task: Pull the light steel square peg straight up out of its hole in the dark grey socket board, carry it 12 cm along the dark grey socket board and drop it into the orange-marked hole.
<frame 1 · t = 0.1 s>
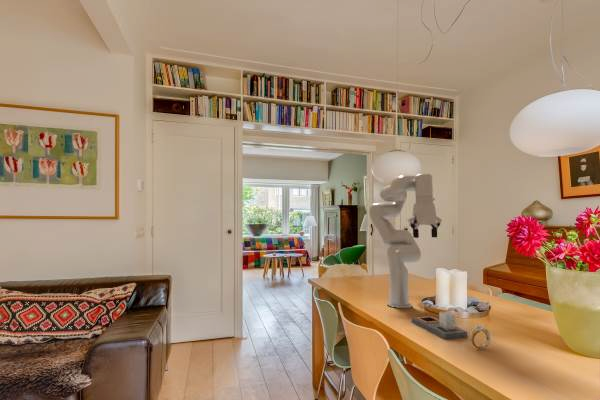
hand: (425, 237, 154), 37 cm above the table, tool pointing down, fingers open, 9 cm apart
dark grey socket board: (437, 329, 137), on the table
peg: (447, 334, 132), resting in dark grey socket board
bracelet: (480, 349, 116), on the table
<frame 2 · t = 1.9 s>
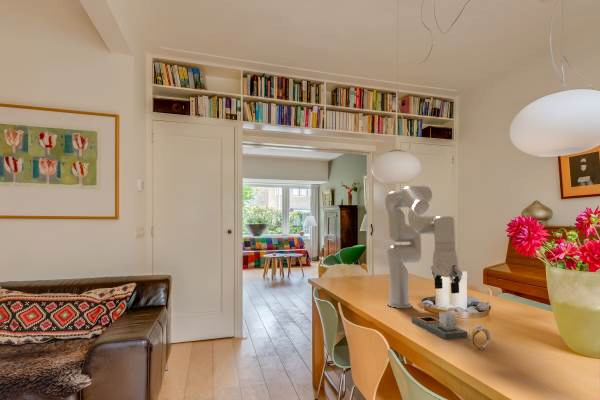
hand: (446, 290, 132), 17 cm above the table, tool pointing down, fingers open, 9 cm apart
nothing on the table moved.
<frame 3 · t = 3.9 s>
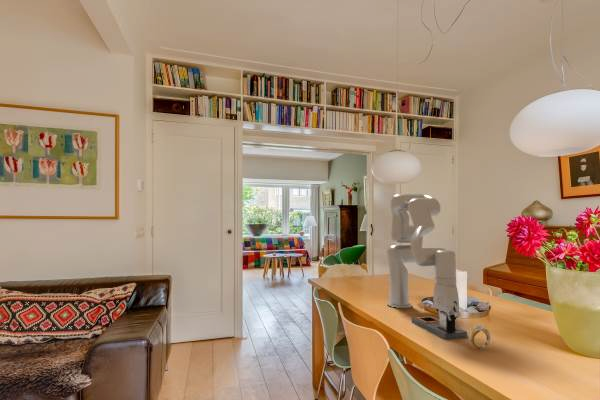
hand: (447, 328, 132), 2 cm above the table, tool pointing down, fingers closed on peg, 4 cm apart
peg: (447, 334, 132), resting in dark grey socket board, touching gripper
everything else where it was.
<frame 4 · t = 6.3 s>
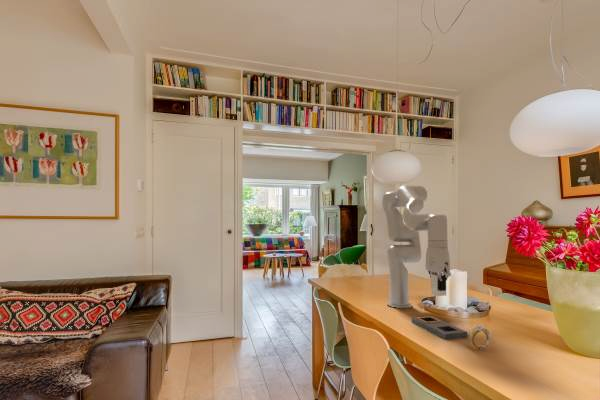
hand: (438, 288, 137), 17 cm above the table, tool pointing down, fingers closed on peg, 4 cm apart
peg: (438, 294, 137), point 14 cm above the table, touching gripper
everything else where it was.
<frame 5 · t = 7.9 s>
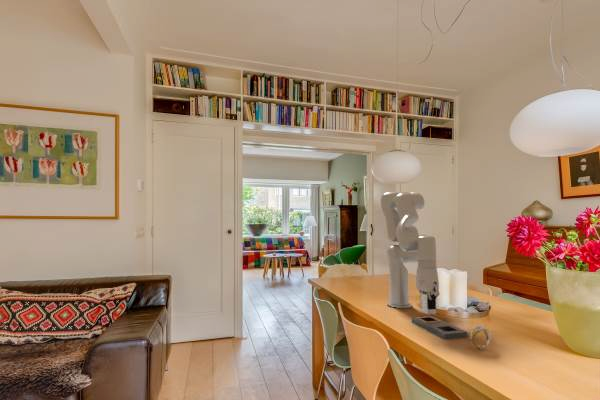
hand: (428, 307, 143), 7 cm above the table, tool pointing down, fingers closed on peg, 4 cm apart
peg: (428, 312, 143), point 5 cm above the table, touching gripper
everything else where it was.
when the fingers open (3 cm above the table, at t = 8.9 s): peg drops 1 cm, resting in dark grey socket board.
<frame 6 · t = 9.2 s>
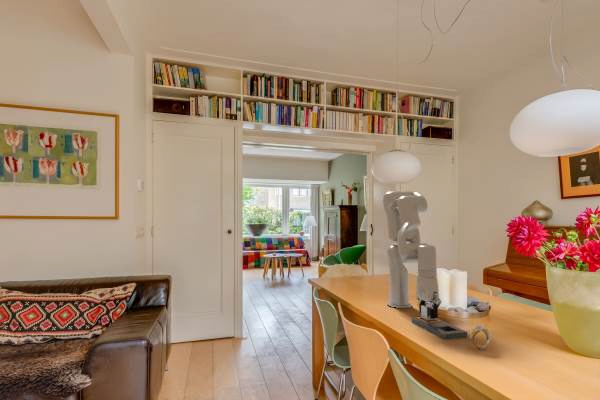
hand: (428, 315, 143), 4 cm above the table, tool pointing down, fingers open, 7 cm apart
peg: (428, 324, 143), resting in dark grey socket board
everything else where it was.
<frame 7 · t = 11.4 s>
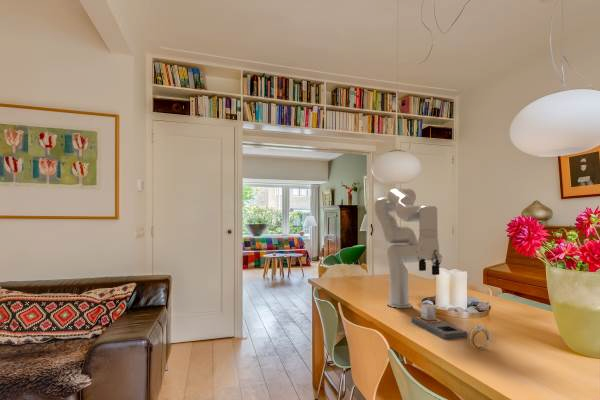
hand: (428, 272, 147), 22 cm above the table, tool pointing down, fingers open, 9 cm apart
nothing on the table moved.
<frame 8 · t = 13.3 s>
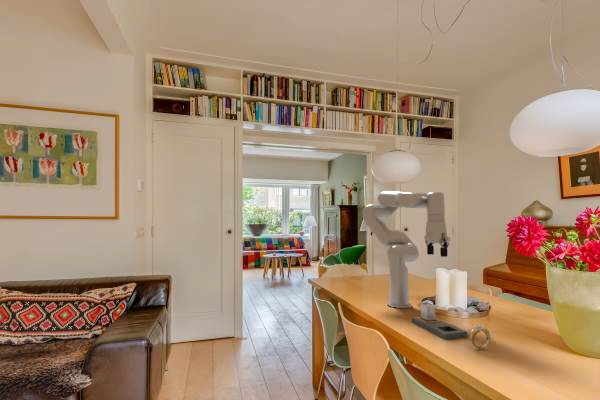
hand: (437, 255, 155), 28 cm above the table, tool pointing down, fingers open, 9 cm apart
nothing on the table moved.
at the end: peg 0.1 cm from the target spot on the dark grey socket board, point 0.0 cm above the dark grey socket board's base; peg tilted 0°; the gripper is holding nothing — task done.
